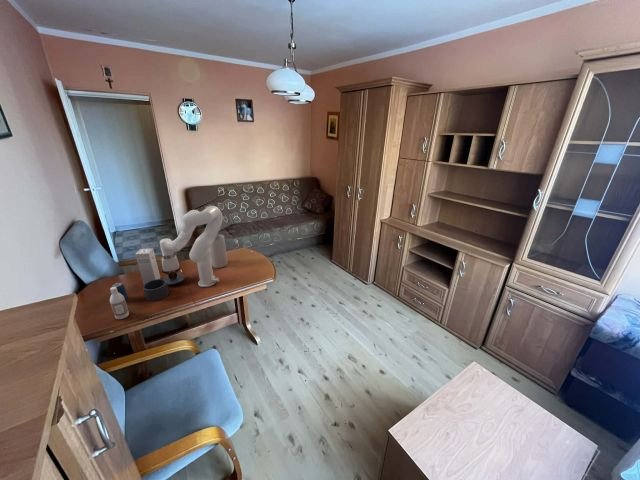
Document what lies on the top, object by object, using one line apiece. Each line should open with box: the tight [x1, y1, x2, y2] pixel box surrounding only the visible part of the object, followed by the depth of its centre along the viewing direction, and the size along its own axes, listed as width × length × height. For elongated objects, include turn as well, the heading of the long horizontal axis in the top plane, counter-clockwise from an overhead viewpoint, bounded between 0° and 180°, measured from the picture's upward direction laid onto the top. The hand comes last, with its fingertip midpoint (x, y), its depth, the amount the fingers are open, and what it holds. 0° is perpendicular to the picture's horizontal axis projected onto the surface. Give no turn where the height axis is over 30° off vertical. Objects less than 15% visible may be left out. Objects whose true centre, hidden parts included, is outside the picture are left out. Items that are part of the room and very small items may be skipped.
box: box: [134, 247, 161, 285], centre depth 190 cm, size 8×8×25 cm
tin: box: [142, 278, 170, 302], centre depth 178 cm, size 14×14×8 cm
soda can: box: [110, 281, 129, 302], centre depth 172 cm, size 7×7×12 cm
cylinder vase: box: [210, 233, 229, 269], centre depth 216 cm, size 12×12×25 cm
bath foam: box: [109, 287, 130, 320], centre depth 156 cm, size 7×7×20 cm
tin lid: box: [162, 270, 186, 286], centre depth 193 cm, size 15×15×7 cm
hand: (173, 277), depth 193 cm, fingers closed on tin lid, 2 cm apart
